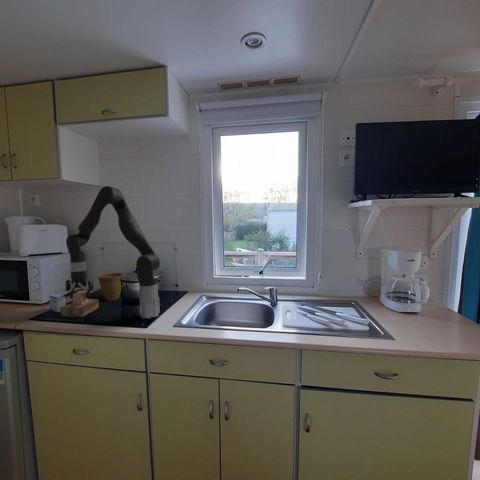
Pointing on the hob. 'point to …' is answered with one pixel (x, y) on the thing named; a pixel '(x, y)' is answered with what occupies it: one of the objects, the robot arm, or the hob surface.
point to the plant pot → (110, 285)
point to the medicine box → (56, 302)
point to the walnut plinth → (79, 308)
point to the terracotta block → (79, 298)
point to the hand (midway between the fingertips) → (80, 298)
